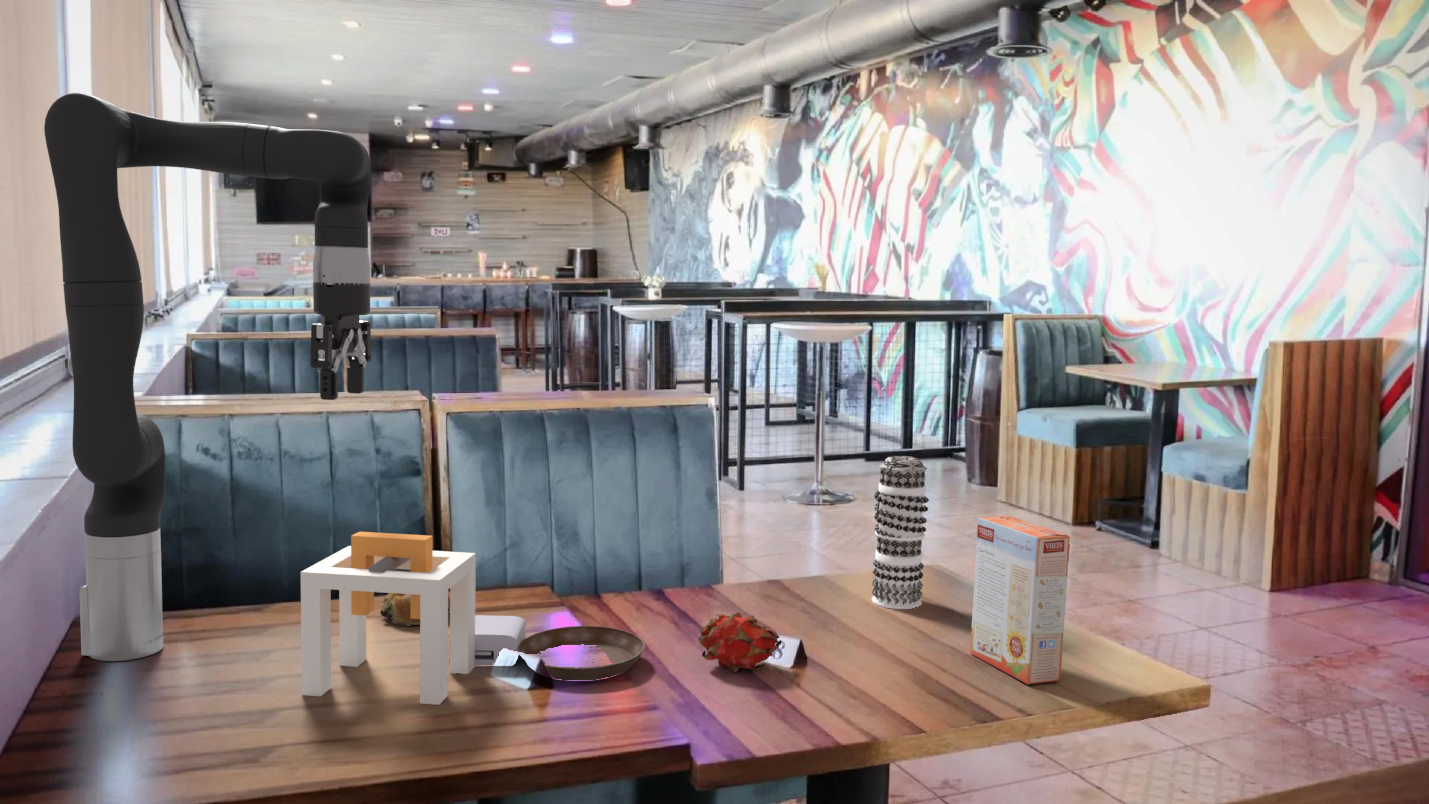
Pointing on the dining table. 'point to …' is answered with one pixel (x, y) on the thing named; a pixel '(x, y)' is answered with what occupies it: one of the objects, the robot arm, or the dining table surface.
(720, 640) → the dragon fruit
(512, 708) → the dining table surface
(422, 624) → the white square table frame
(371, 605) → the orange arch block
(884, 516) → the decorative candle
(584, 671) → the plant saucer
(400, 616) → the bread roll
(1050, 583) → the cracker box
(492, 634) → the charger
